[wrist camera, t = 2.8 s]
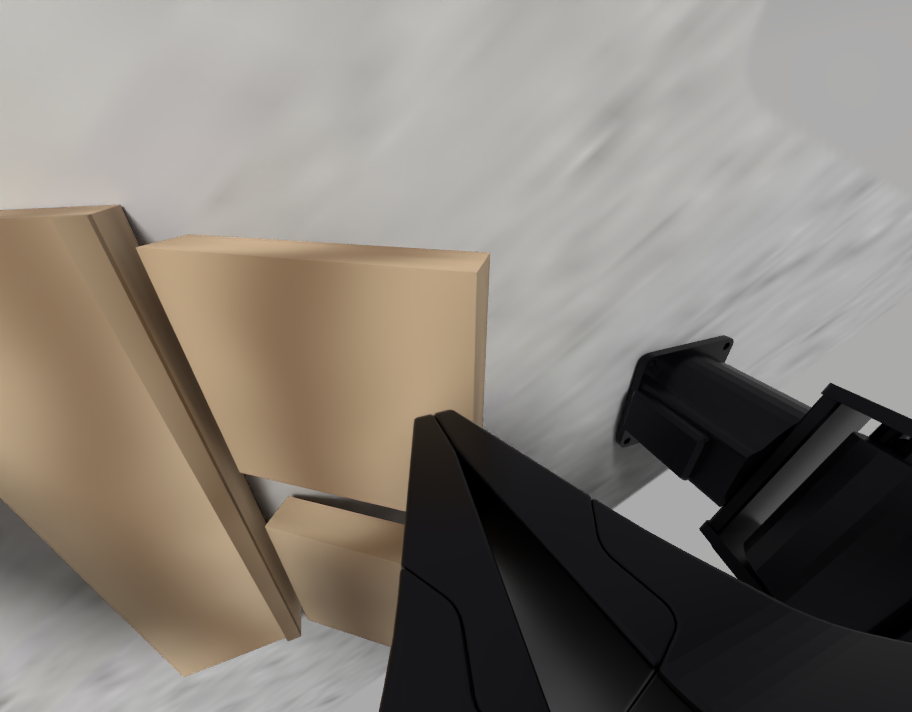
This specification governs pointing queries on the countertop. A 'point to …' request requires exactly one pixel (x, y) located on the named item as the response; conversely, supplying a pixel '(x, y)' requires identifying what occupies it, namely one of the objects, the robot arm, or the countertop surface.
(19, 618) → the countertop surface
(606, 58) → the countertop surface
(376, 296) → the plank
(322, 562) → the plank
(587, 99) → the countertop surface
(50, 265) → the laid board
